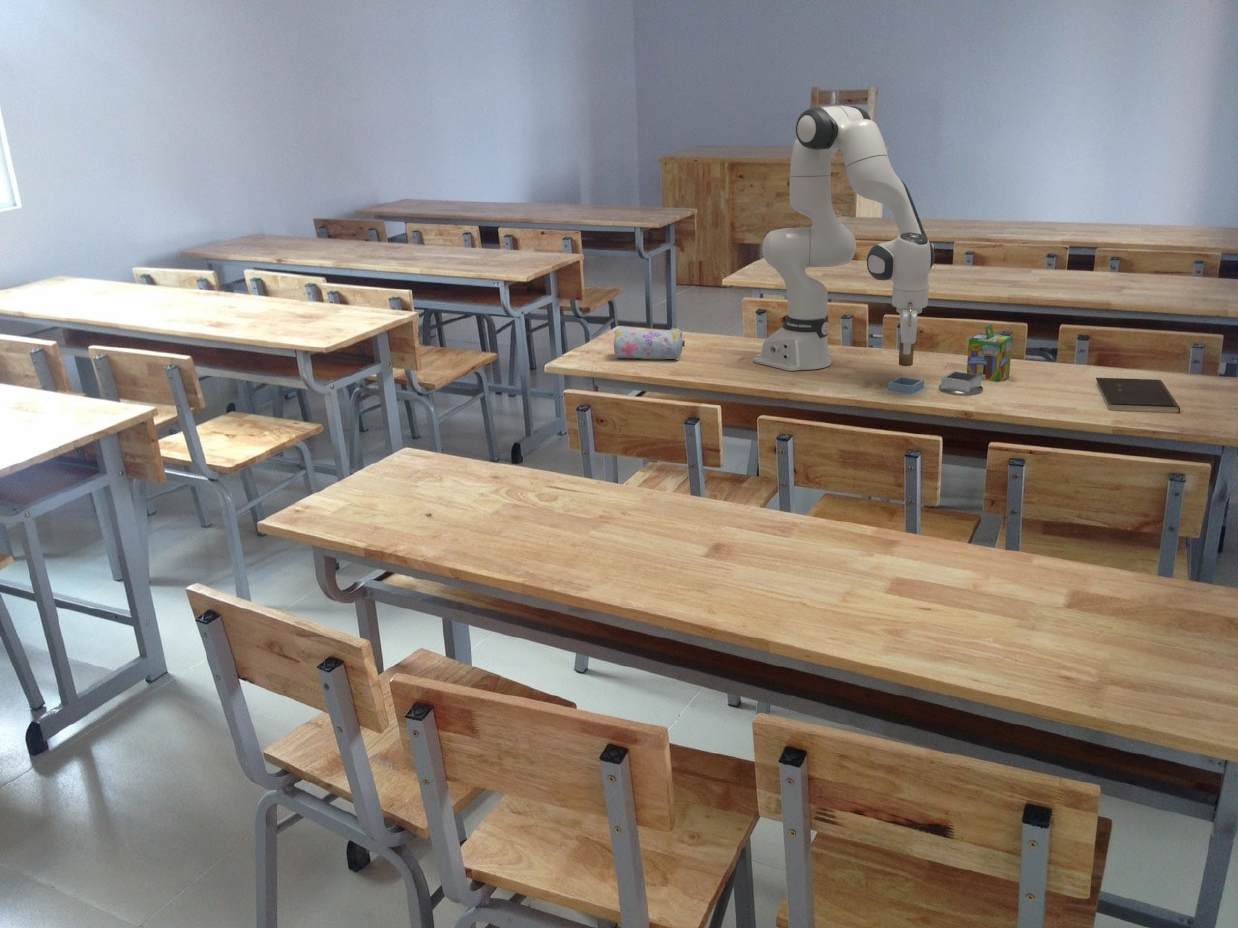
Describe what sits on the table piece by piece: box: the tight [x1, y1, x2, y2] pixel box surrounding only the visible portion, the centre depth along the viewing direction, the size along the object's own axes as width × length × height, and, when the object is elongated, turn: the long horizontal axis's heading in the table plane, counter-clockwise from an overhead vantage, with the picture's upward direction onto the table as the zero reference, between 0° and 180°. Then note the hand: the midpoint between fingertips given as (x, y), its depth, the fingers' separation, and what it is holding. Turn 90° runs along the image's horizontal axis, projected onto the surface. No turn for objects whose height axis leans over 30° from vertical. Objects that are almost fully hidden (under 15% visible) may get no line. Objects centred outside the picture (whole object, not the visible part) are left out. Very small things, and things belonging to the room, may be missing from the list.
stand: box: [882, 376, 930, 397], centre depth 283 cm, size 9×9×3 cm
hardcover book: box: [1095, 377, 1181, 414], centre depth 272 cm, size 16×23×2 cm
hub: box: [938, 370, 984, 397], centre depth 281 cm, size 11×11×4 cm
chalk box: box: [966, 323, 1013, 383], centre depth 290 cm, size 9×9×15 cm
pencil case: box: [613, 326, 686, 360], centre depth 324 cm, size 21×9×10 cm, turn 78°
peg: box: [898, 333, 915, 367], centre depth 280 cm, size 4×4×8 cm
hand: (906, 350), depth 280 cm, fingers closed on peg, 4 cm apart
